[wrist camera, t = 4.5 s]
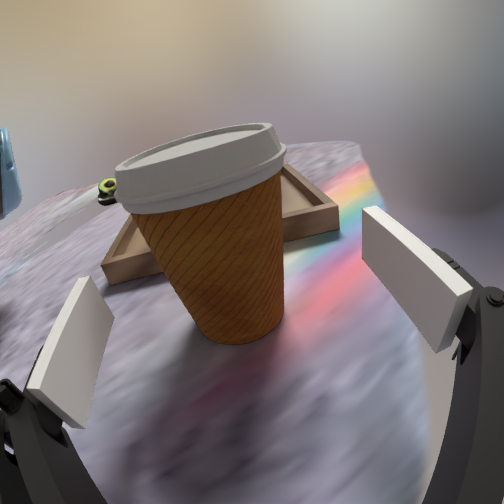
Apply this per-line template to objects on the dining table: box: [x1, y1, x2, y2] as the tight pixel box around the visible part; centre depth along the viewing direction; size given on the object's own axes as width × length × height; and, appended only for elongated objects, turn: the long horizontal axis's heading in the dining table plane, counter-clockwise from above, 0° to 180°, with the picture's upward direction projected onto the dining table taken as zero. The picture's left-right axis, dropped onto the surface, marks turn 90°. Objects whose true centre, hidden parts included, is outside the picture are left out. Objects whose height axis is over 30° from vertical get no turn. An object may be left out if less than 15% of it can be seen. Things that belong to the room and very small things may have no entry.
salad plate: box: [98, 177, 118, 206], centre depth 63 cm, size 19×18×5 cm
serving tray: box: [101, 162, 340, 285], centre depth 35 cm, size 24×20×2 cm
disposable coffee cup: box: [114, 123, 286, 344], centre depth 17 cm, size 10×10×12 cm
